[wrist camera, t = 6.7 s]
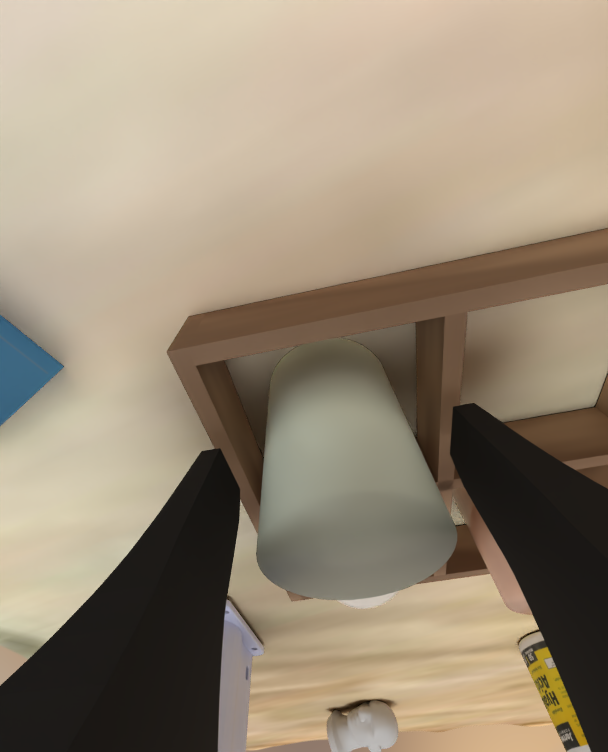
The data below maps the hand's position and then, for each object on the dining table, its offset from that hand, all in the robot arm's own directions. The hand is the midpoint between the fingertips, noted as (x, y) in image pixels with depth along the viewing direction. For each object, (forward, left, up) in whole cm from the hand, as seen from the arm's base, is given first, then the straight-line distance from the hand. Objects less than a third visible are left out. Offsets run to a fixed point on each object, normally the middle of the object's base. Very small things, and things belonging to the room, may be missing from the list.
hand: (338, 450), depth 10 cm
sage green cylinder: (0, 0, -3) cm, 3 cm away
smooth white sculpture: (-46, +4, -4) cm, 47 cm away
